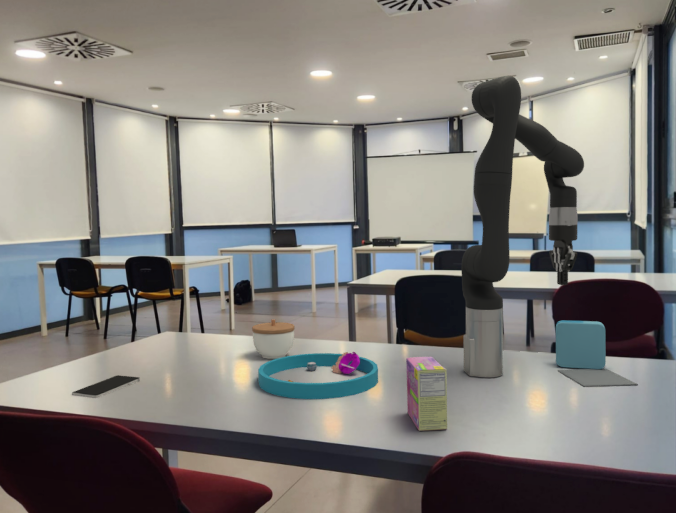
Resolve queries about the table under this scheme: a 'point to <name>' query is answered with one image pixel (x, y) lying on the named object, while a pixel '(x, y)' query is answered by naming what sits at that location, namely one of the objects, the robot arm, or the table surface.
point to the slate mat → (596, 377)
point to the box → (427, 393)
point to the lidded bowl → (273, 339)
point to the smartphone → (106, 386)
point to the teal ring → (319, 390)
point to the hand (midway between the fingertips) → (562, 284)
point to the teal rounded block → (580, 344)
